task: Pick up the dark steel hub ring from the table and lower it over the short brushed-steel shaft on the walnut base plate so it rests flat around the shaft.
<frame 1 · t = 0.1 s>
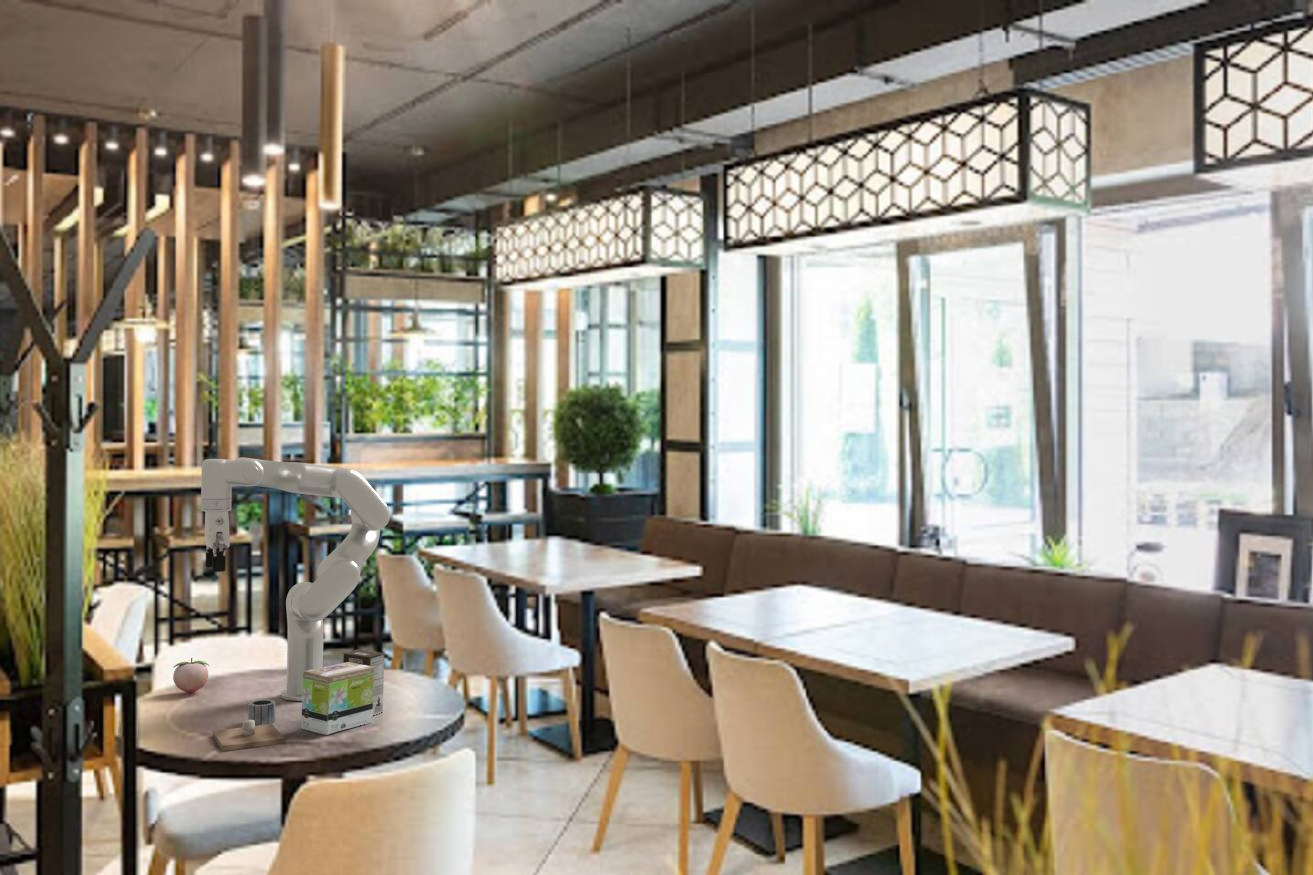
hand: (215, 569, 297), 37 cm above the table, tool pointing down, fingers open, 9 cm apart
coffee box: (362, 713, 293), on the table
steel hub: (261, 722, 283), on the table
decorative fruit: (191, 694, 309), on the table
shaft base: (248, 739, 268), on the table
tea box: (337, 726, 281), on the table
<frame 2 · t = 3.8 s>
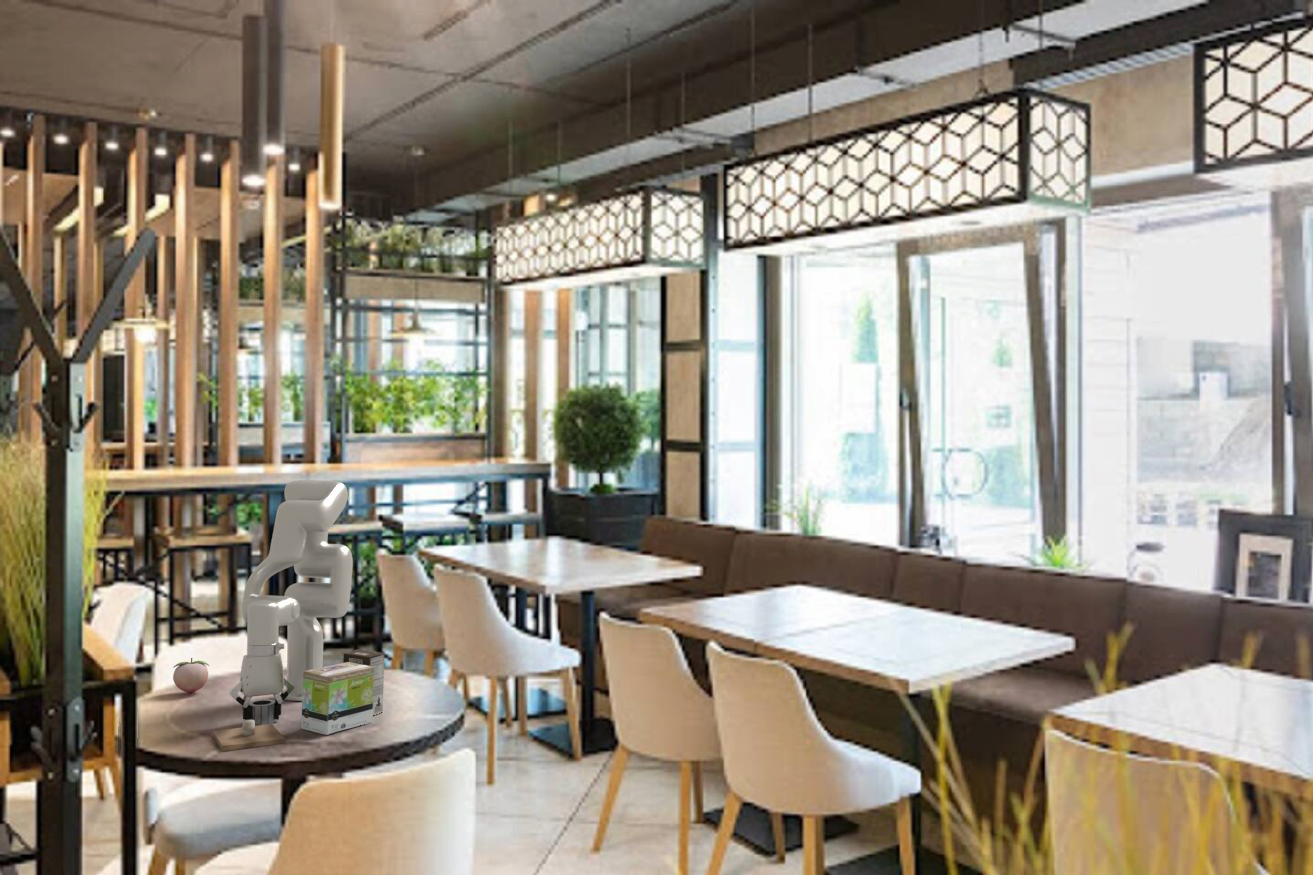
hand: (261, 719, 283), 1 cm above the table, tool pointing down, fingers closed on steel hub, 6 cm apart
steel hub: (261, 722, 283), on the table, touching gripper
everything else where it was.
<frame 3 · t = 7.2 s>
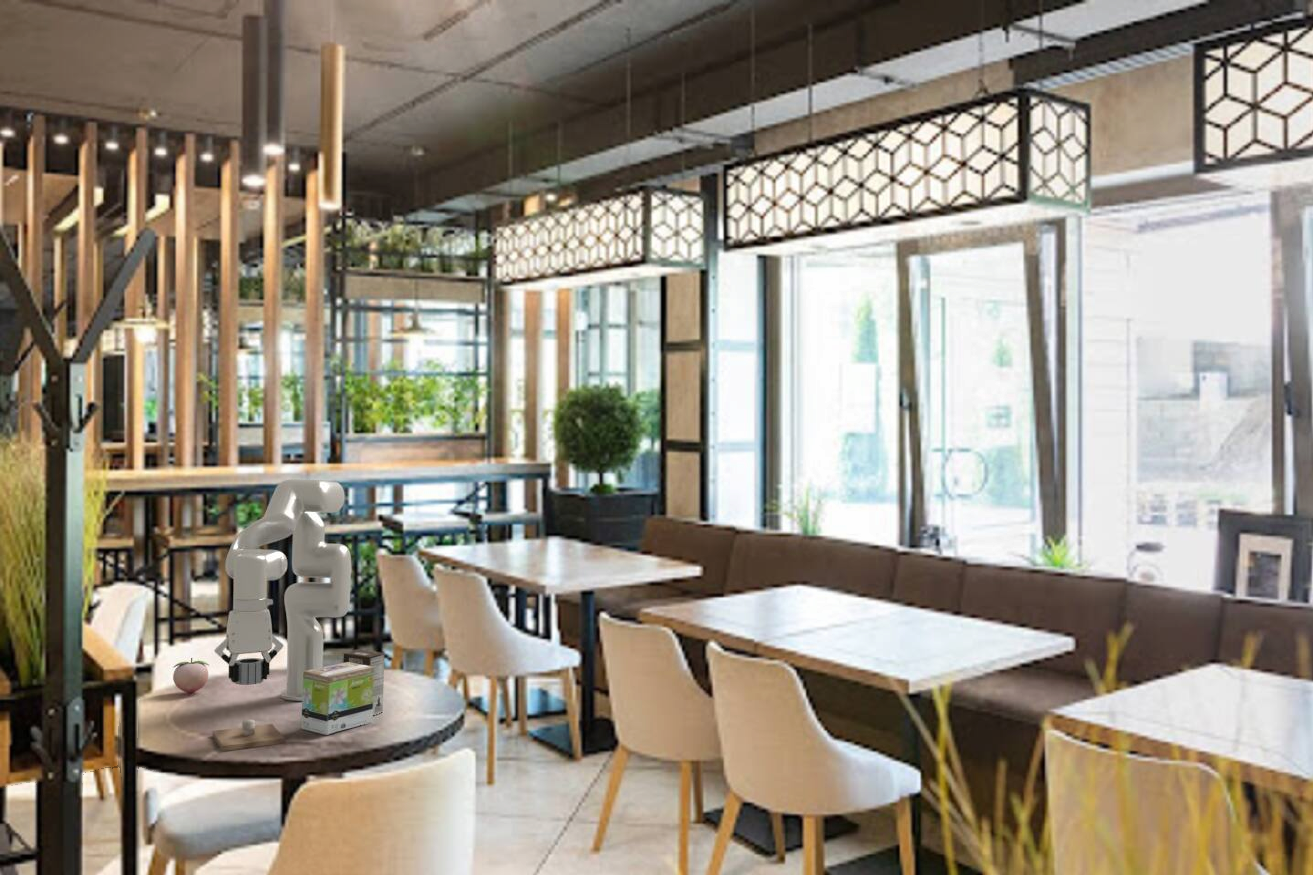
hand: (249, 678, 267), 15 cm above the table, tool pointing down, fingers closed on steel hub, 6 cm apart
steel hub: (249, 681, 267), point 14 cm above the table, touching gripper
everything else where it was.
when the fingers open (3 cm above the table, at t = 10.6 s): steel hub drops 1 cm, resting on shaft base.
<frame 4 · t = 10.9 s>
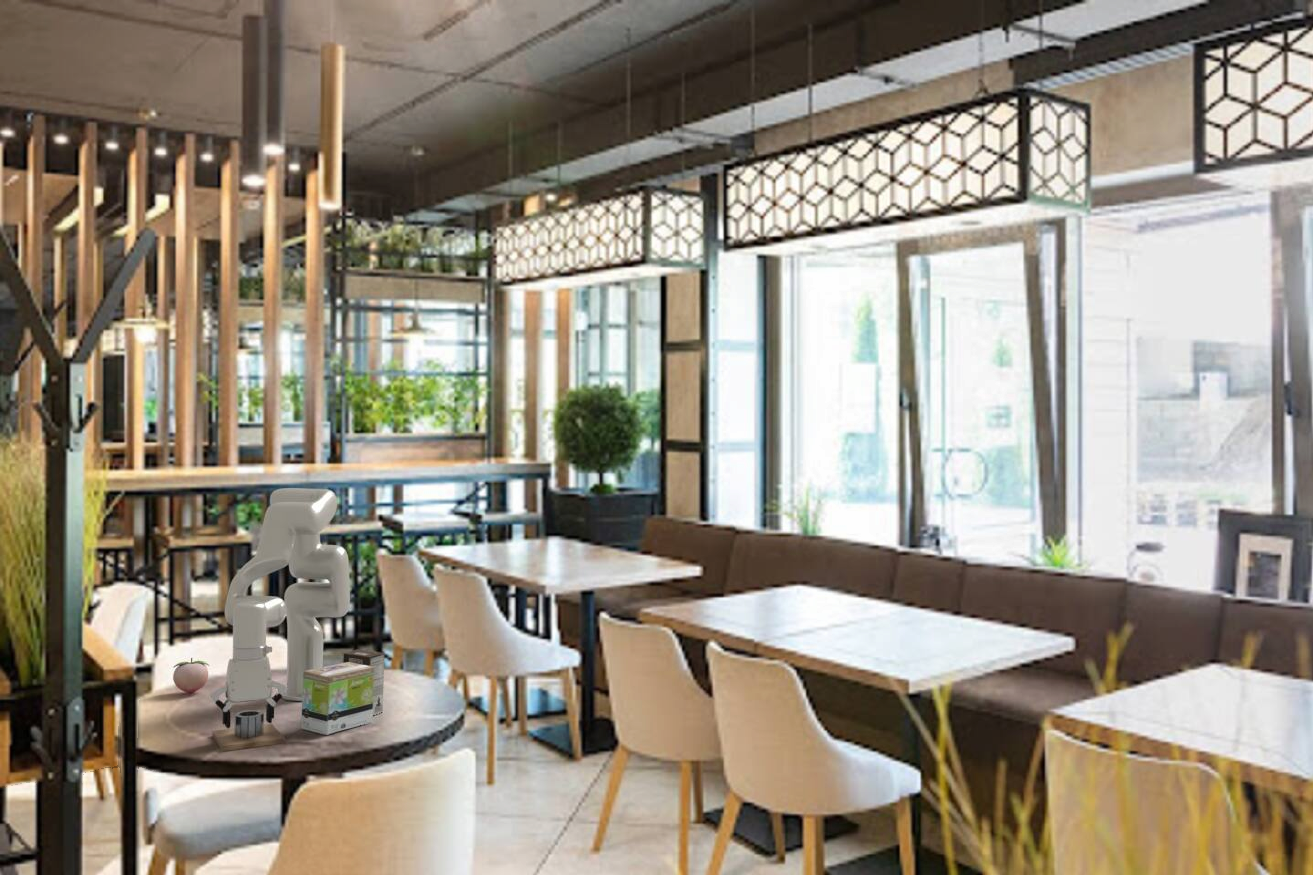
hand: (248, 724, 268), 4 cm above the table, tool pointing down, fingers open, 9 cm apart
steel hub: (248, 734, 268), point 1 cm above the table, touching shaft base
everything else where it was.
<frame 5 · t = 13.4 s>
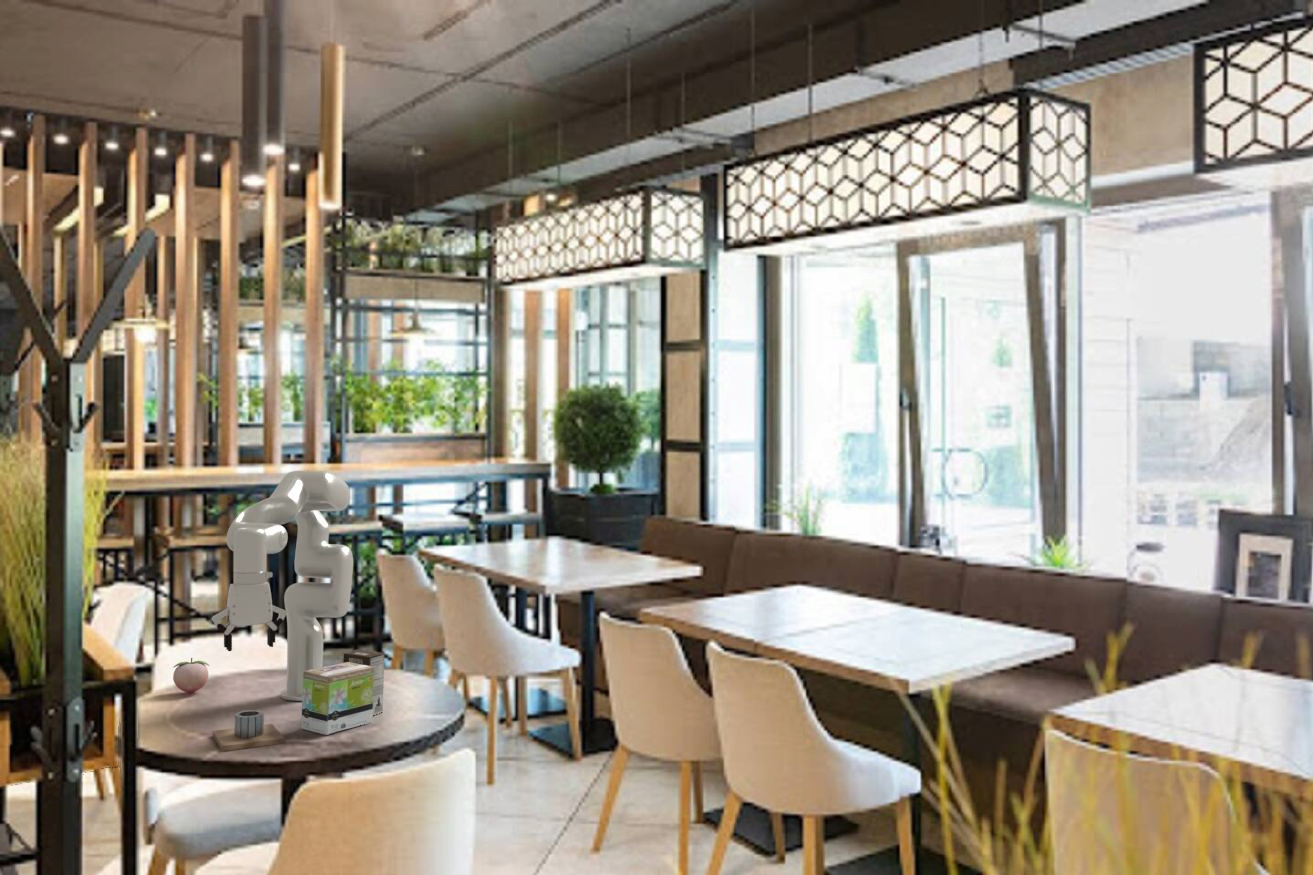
hand: (249, 647, 271), 21 cm above the table, tool pointing down, fingers open, 9 cm apart
nothing on the table moved.
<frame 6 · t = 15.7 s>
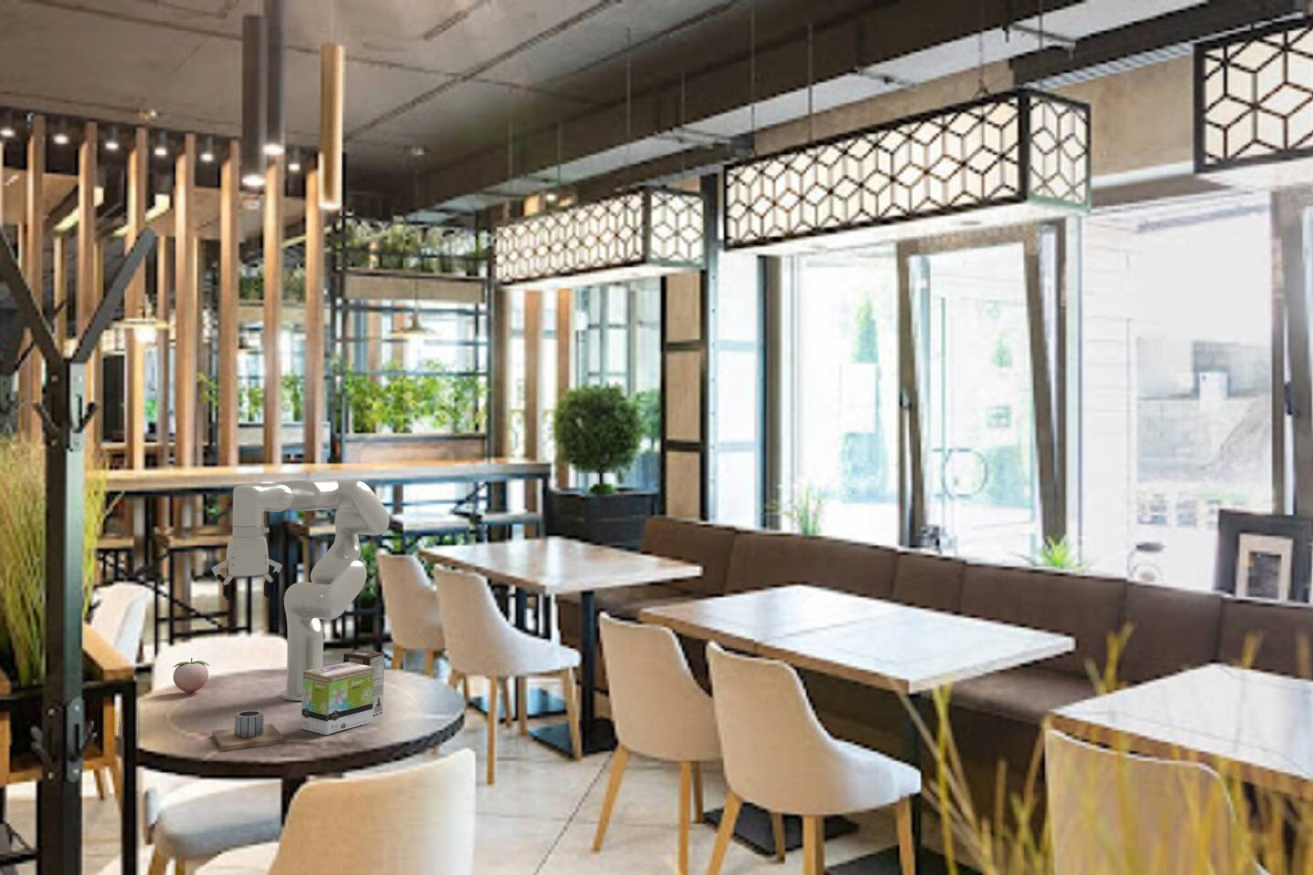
hand: (247, 598, 290), 30 cm above the table, tool pointing down, fingers open, 9 cm apart
nothing on the table moved.
at the end: steel hub 0.2 cm off-centre on the shaft base, point 1.2 cm above the shaft base's base; steel hub tilted 0°; the gripper is holding nothing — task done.
